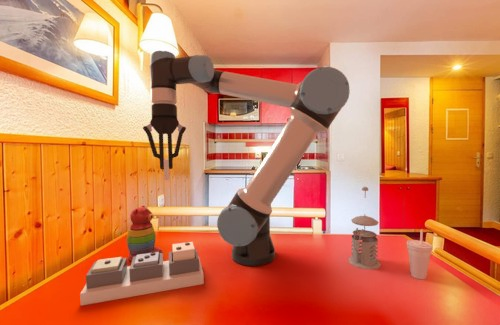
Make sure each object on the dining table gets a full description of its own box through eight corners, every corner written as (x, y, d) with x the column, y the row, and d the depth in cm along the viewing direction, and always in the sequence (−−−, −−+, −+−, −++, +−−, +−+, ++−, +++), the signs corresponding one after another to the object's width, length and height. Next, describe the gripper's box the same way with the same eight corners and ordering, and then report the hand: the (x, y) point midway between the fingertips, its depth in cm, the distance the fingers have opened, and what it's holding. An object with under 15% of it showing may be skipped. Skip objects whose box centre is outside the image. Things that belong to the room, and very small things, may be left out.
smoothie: (423, 284, 70) (425, 234, 69) (400, 274, 76) (401, 227, 75) (436, 278, 73) (438, 230, 72) (413, 268, 79) (414, 224, 78)
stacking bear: (146, 264, 84) (144, 211, 83) (120, 262, 86) (117, 210, 85) (164, 251, 95) (162, 204, 94) (139, 249, 97) (137, 203, 96)
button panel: (198, 265, 83) (198, 245, 83) (203, 283, 72) (203, 261, 71) (94, 281, 74) (93, 259, 74) (80, 305, 63) (79, 279, 62)
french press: (384, 261, 84) (386, 186, 82) (373, 274, 75) (374, 191, 74) (354, 253, 91) (355, 183, 89) (341, 264, 82) (341, 187, 81)
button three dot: (159, 264, 76) (158, 250, 76) (158, 274, 71) (157, 259, 70) (137, 268, 75) (136, 253, 74) (134, 277, 69) (134, 262, 69)
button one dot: (122, 270, 73) (121, 255, 73) (118, 280, 68) (117, 264, 67) (98, 273, 72) (97, 258, 71) (92, 284, 66) (91, 268, 66)
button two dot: (192, 254, 79) (192, 240, 79) (194, 262, 74) (194, 247, 73) (172, 257, 78) (172, 243, 77) (173, 265, 72) (172, 250, 72)
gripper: (184, 106, 85) (187, 177, 87) (142, 105, 81) (145, 179, 83) (186, 103, 78) (188, 179, 79) (140, 101, 74) (143, 182, 75)
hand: (166, 179), depth 81 cm, fingers closed
